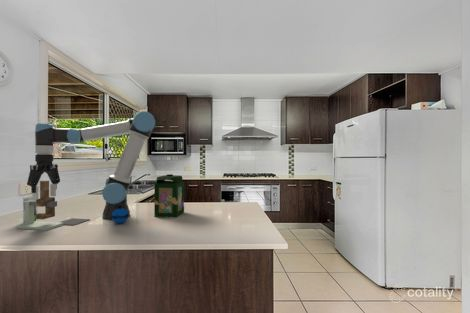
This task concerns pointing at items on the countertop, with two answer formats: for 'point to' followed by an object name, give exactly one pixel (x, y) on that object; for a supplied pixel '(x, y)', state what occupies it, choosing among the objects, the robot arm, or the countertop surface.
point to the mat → (74, 221)
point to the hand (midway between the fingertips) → (44, 197)
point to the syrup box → (28, 198)
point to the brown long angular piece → (43, 199)
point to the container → (169, 196)
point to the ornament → (119, 215)
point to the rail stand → (37, 224)
